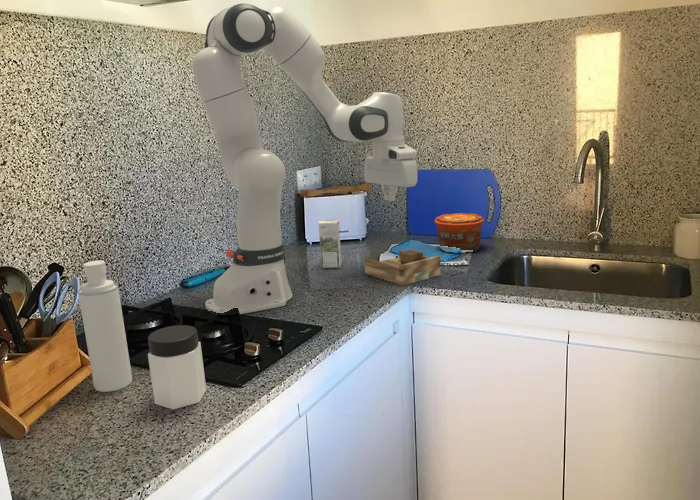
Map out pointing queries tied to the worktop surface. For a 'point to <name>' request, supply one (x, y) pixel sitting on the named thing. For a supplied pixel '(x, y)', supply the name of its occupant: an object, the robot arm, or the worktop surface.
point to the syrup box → (330, 243)
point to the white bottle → (104, 329)
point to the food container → (459, 230)
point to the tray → (404, 269)
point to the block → (410, 256)
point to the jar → (176, 366)
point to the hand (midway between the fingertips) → (389, 200)
